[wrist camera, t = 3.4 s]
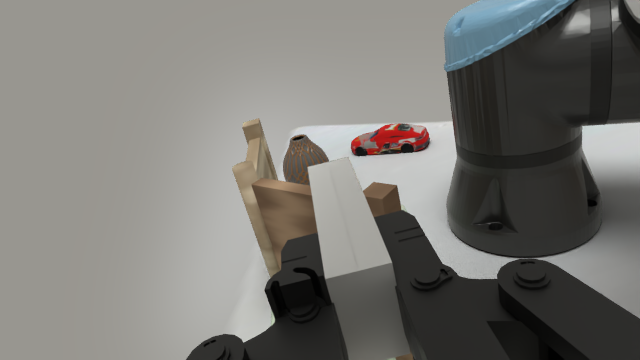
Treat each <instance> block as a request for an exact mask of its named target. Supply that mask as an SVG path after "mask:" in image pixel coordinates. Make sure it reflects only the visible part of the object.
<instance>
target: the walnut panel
mask: <svg viewBox="0 0 640 360" xmlns="http://www.w3.org/2000/svg"><path fill="white" fill-rule="evenodd" d="M251 185H252V188H253V191H254V194H255V197H256V200H257V203H258V206H259V209H260V212H261V215H262V218H263V221H264V224H265V227H266V229H267V232H268V235H269V238H270V241H271V244H272V247H273V250H274V253H275V256H276V259H277V262H278V265H279V268H280V270H281V250H282V249H283V247H284V245H285V244H286V242H287V240H290V239H294V238H298V237H302V236H306V235H310V234H314V233H317V232H318V231H317V224H316V218H315V212H314V205H313V199H312V193H311V186H309V185H303V184H297V183H291V182H284V181H278V180H272V179H266V178H260V179H259V180H257V181H256V182H254V183H253V184H251ZM363 193H364V195H365V198H366V200H367V203H368V205H369V208H370V210H371V212H372V215H373V217H376V216H380V215H384V214H388V213H392V212H396V211H400V210H401V204H400V199H399V194H398V188H397V185H391V184H383V183H376V182H373V183H372V184H371V185H370V186H369V187H367V188H366V189H365V190H364V191H363ZM409 348H410V347H409ZM410 353H411V354H407V355H403V356H399V357H395V358H396V360H413V355H412V352H411V350H410Z"/></svg>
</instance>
